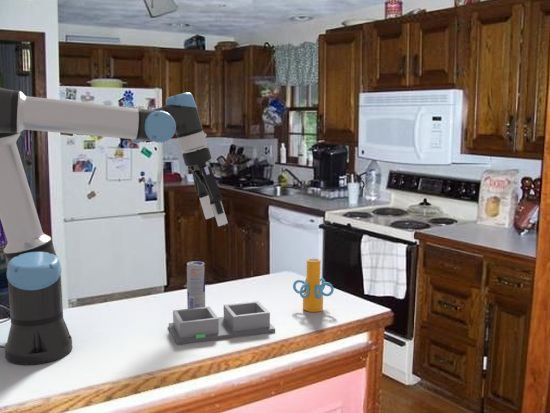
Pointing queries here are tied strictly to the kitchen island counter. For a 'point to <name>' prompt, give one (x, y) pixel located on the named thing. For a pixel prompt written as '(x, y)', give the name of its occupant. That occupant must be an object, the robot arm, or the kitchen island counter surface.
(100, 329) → the kitchen island counter surface
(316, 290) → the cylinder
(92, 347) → the kitchen island counter surface
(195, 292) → the beverage can
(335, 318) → the kitchen island counter surface
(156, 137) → the robot arm
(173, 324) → the double square planter tray
